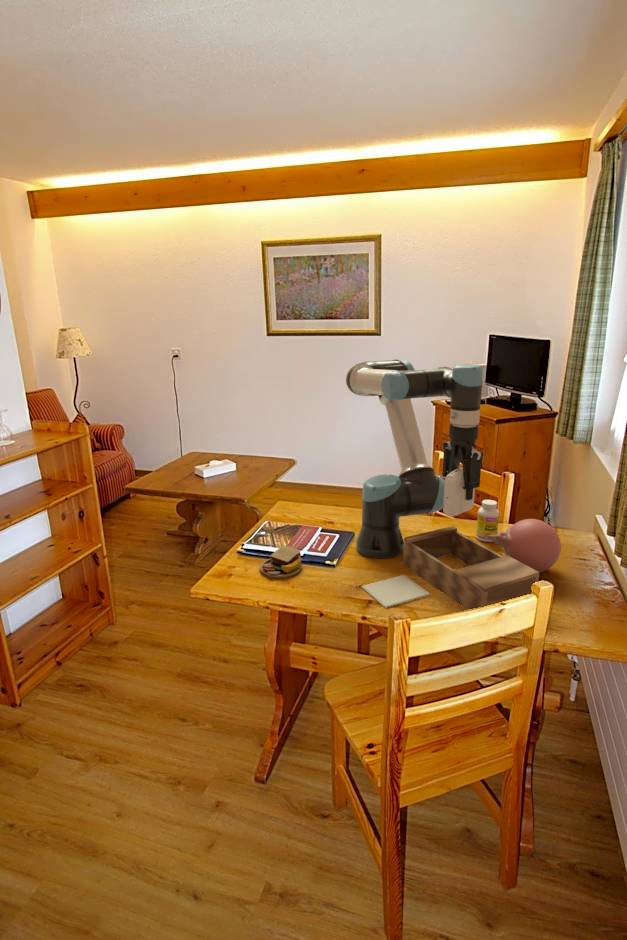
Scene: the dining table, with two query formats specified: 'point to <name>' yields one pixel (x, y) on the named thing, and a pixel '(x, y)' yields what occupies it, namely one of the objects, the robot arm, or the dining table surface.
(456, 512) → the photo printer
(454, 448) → the robot arm
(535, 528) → the pink rubber bulb
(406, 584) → the felt mat
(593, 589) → the dining table surface
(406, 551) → the walnut box
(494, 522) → the supplement bottle
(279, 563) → the toy sandwich meal
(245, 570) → the dining table surface
